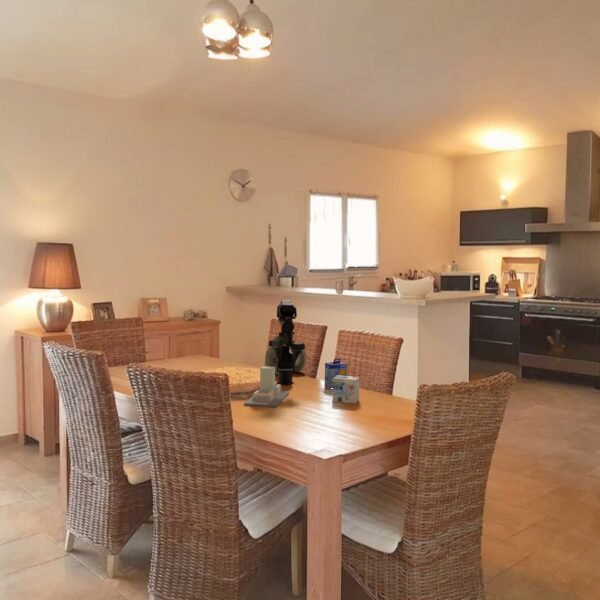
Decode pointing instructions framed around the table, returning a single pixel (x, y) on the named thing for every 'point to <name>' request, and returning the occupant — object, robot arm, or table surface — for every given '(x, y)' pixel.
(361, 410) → the table surface
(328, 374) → the ink cartridge box
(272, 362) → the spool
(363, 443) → the table surface
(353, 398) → the light bulb box
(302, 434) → the table surface
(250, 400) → the rail board
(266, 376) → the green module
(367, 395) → the table surface
